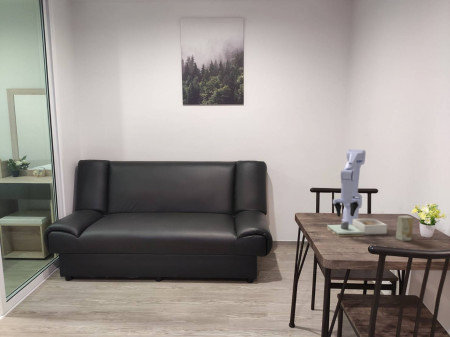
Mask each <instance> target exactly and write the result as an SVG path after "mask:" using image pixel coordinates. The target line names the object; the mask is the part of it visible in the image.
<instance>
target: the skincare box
mask: <svg viewBox="0 0 450 337" xmlns="http://www.w3.org/2000/svg"><path fill="white" fill-rule="evenodd" d="M396 222H397V223H396V232H395V239H397V240H398V241H400V242H403V241H404V242H406V241H412V233H413V225H414V224H413V223H414V217H412V216H410V215H408V214H407V215H397V221H396Z"/></svg>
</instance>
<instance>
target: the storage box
mask: <svg viewBox="0 0 450 337" xmlns="http://www.w3.org/2000/svg"><path fill="white" fill-rule="evenodd" d="M351 225H352V226H354V227H356V228H357V229H359V230H361V231H362V232H363V233H361V234H363V236H364V235H386V234H387V232H388V224H386V223H384V222H382V221H380V220H378V219H376V218H358V219H353V223H352V224H351Z"/></svg>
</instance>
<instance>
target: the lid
mask: <svg viewBox="0 0 450 337" xmlns="http://www.w3.org/2000/svg"><path fill="white" fill-rule="evenodd" d="M326 225H327V227H329V228H330V229H332V230H333V231H334V232H336V233H337V234H362V233H363V232H362V231H361V230H359V229H357V228H356V227H354V226H352V224H349V222H347V221H342V220H341V221H340V224H326ZM327 227H326V228H327Z"/></svg>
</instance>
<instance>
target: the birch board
mask: <svg viewBox="0 0 450 337" xmlns="http://www.w3.org/2000/svg"><path fill="white" fill-rule="evenodd" d="M326 229H327V230H328V231H330V232H331V233H332V234H334V235H335V236H337V237H339V238H340V237H341V238H342V237H361V236H362V237H363V236H364V234H362V233H361V234H337V233H336V232H334V231H333V230H332V229H330V228H329V227H326Z"/></svg>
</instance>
